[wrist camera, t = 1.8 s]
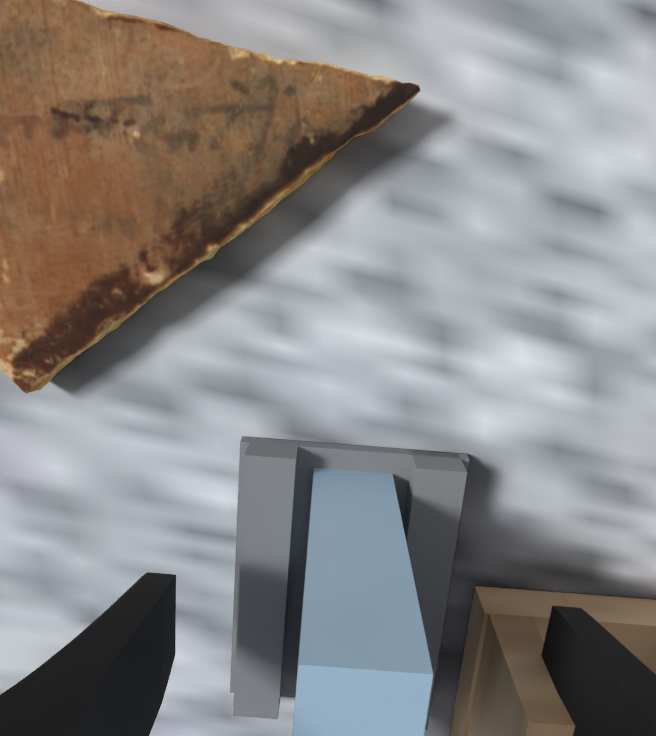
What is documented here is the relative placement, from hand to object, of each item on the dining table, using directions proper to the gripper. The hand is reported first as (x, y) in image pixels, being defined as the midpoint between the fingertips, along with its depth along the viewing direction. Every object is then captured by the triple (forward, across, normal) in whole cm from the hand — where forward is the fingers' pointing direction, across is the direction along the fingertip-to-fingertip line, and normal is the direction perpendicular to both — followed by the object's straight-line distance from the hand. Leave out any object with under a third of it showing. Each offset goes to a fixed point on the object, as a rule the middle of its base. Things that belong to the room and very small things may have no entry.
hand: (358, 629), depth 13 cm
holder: (+2, 0, 0) cm, 2 cm away
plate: (+2, 0, 0) cm, 2 cm away
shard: (+3, +7, -10) cm, 12 cm away
